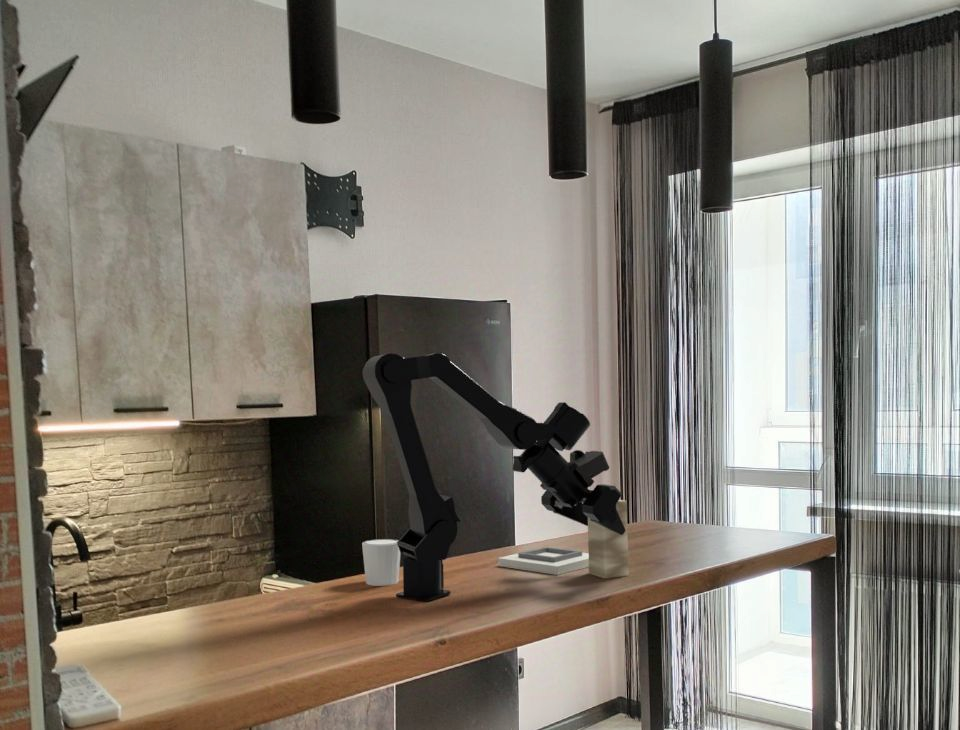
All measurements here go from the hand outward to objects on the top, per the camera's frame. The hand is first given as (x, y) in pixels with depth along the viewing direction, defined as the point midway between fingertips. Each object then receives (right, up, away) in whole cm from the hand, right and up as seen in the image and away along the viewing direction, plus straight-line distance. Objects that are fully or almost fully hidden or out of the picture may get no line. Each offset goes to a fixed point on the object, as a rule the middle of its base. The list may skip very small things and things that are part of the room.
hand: (608, 529), depth 150 cm
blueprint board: (-10, -8, +10) cm, 16 cm away
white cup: (-40, -9, -4) cm, 41 cm away
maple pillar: (0, -8, -1) cm, 8 cm away
